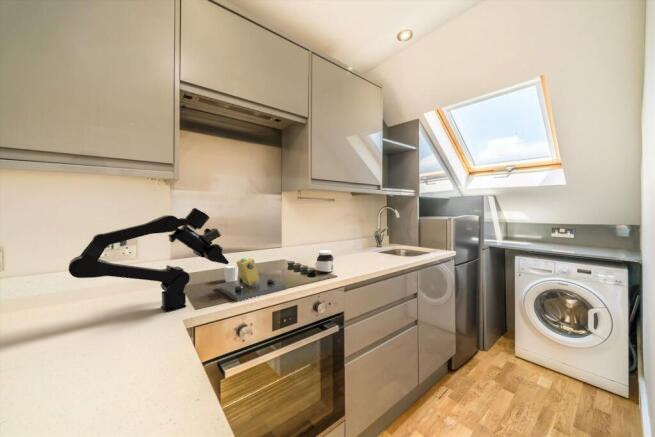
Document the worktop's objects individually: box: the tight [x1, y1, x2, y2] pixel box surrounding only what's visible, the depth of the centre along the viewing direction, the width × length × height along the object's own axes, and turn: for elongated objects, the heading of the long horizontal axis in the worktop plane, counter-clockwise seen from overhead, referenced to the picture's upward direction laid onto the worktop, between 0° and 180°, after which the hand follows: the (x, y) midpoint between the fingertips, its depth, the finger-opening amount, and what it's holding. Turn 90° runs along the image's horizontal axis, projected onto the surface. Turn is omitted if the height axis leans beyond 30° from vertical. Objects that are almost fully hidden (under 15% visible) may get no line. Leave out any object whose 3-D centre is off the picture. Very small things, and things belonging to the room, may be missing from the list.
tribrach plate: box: [216, 275, 287, 303], centre depth 112 cm, size 22×22×5 cm
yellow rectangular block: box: [235, 256, 260, 285], centre depth 110 cm, size 5×9×12 cm, turn 42°
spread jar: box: [314, 249, 335, 275], centre depth 141 cm, size 12×11×12 cm
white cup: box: [223, 264, 239, 283], centre depth 126 cm, size 7×7×7 cm
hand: (223, 261), depth 103 cm, fingers open, 9 cm apart
